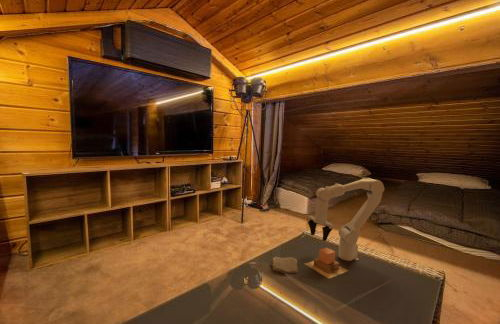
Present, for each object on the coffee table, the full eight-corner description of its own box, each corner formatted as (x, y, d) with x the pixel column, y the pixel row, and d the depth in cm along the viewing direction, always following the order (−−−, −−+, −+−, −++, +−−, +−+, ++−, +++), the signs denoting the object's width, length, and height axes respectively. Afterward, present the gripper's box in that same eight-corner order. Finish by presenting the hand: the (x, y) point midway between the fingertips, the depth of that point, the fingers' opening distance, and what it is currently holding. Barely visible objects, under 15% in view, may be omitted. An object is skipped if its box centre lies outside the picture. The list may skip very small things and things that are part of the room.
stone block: (299, 279, 103) (296, 264, 112) (299, 270, 101) (297, 255, 111) (271, 277, 104) (271, 262, 113) (272, 268, 102) (271, 254, 112)
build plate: (323, 259, 119) (323, 257, 119) (348, 272, 107) (348, 270, 107) (304, 265, 111) (304, 263, 111) (328, 281, 100) (328, 278, 100)
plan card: (345, 285, 97) (345, 284, 97) (361, 294, 91) (361, 293, 91) (336, 289, 94) (336, 288, 94) (352, 299, 88) (352, 298, 88)
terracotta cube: (325, 257, 112) (326, 247, 112) (334, 262, 108) (335, 251, 108) (318, 259, 110) (319, 249, 109) (327, 264, 106) (328, 253, 105)
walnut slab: (324, 261, 115) (325, 255, 115) (338, 269, 108) (339, 262, 108) (313, 265, 110) (314, 259, 110) (327, 273, 104) (328, 267, 103)
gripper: (305, 208, 123) (302, 233, 124) (328, 216, 111) (324, 244, 112) (314, 207, 127) (311, 231, 128) (337, 215, 115) (334, 242, 116)
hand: (318, 237), depth 120 cm, fingers open, 7 cm apart
